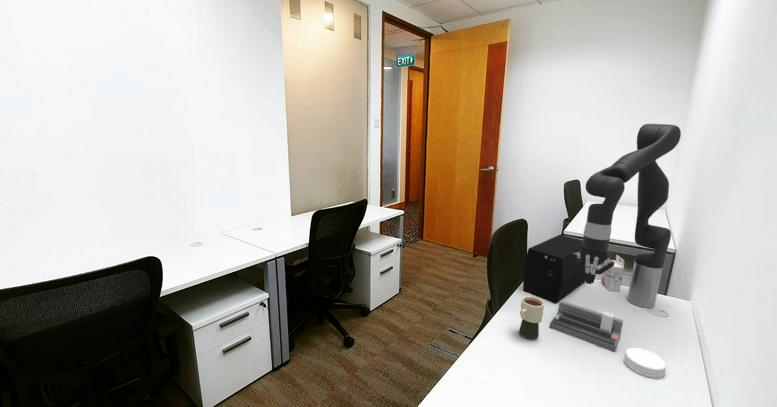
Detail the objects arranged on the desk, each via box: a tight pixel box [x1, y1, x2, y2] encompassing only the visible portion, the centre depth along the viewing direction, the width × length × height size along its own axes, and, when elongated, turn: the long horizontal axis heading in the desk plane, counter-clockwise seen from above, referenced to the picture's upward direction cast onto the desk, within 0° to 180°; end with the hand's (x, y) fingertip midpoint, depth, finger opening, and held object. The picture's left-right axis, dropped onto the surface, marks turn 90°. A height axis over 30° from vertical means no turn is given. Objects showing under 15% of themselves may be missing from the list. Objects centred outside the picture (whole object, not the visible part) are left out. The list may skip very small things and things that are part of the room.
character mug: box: [518, 295, 545, 340], centre depth 115 cm, size 11×7×13 cm, turn 123°
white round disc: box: [623, 347, 667, 379], centre depth 102 cm, size 10×10×4 cm
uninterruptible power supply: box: [522, 234, 586, 305], centre depth 151 cm, size 16×34×20 cm, turn 131°
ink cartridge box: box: [600, 254, 625, 292], centre depth 152 cm, size 9×5×15 cm, turn 168°
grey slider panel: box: [549, 300, 624, 353], centre depth 118 cm, size 12×20×6 cm, turn 49°
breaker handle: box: [600, 310, 615, 332], centre depth 114 cm, size 3×3×7 cm
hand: (588, 283), depth 116 cm, fingers closed
